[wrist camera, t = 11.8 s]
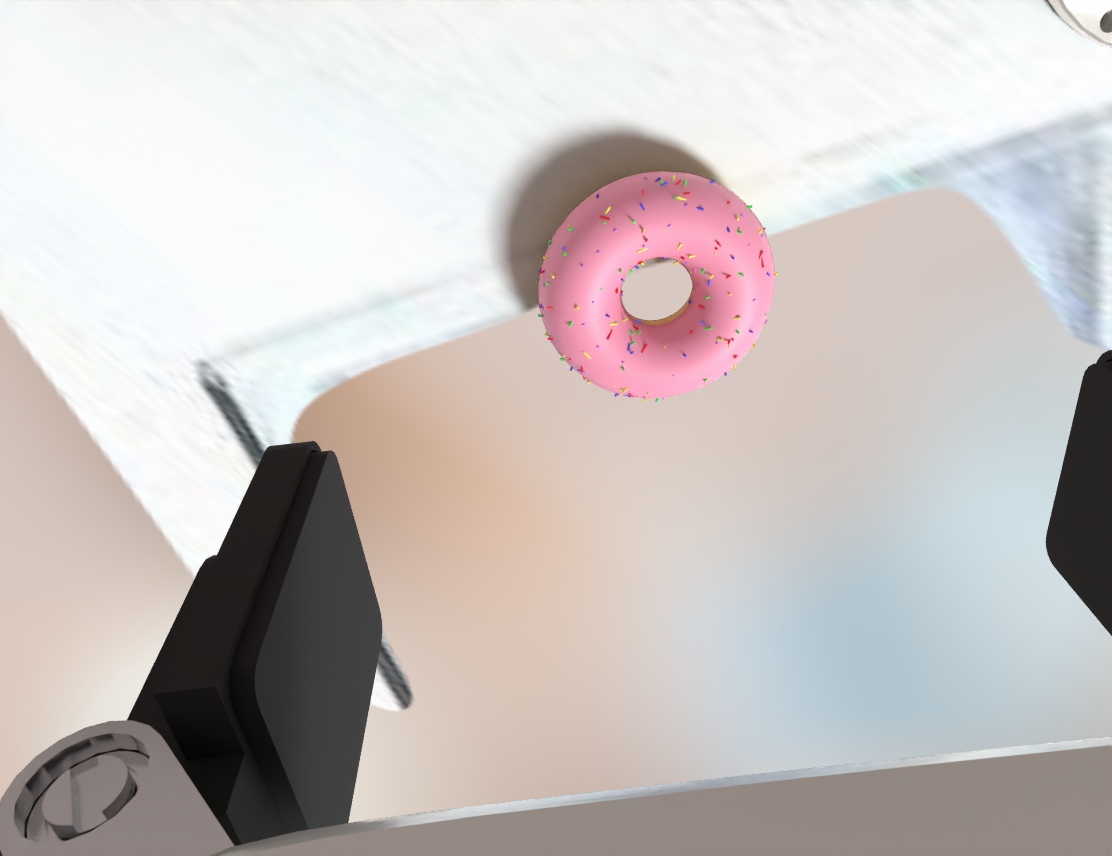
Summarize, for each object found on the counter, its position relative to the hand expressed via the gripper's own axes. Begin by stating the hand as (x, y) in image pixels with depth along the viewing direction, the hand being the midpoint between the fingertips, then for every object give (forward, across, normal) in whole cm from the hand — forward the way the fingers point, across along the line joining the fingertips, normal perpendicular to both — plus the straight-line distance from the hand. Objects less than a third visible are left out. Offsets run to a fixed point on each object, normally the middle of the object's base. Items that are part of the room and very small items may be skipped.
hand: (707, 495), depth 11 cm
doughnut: (+31, -3, +9) cm, 32 cm away
